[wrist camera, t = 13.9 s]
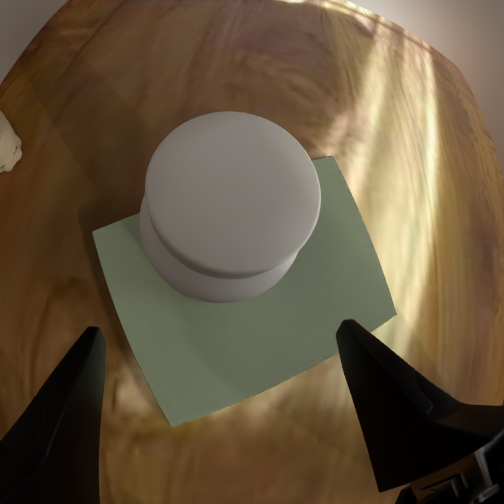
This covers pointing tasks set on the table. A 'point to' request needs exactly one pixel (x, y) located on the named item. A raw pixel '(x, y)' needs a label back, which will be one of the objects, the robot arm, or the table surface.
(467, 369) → the table surface
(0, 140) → the handle
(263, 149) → the pill bottle
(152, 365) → the mat
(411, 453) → the robot arm
